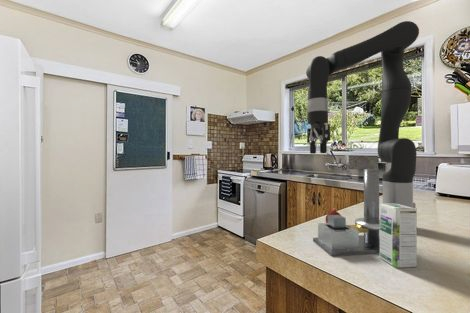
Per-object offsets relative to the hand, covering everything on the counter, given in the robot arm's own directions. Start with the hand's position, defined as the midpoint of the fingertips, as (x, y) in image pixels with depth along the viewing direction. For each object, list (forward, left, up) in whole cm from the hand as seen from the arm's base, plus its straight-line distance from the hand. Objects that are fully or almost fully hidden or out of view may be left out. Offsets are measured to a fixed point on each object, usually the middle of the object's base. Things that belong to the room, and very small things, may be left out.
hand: (317, 153), depth 88 cm
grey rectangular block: (+4, +20, -27) cm, 34 cm away
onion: (-3, +6, -28) cm, 29 cm away
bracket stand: (-1, +20, -28) cm, 35 cm away
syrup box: (-6, +31, -28) cm, 42 cm away
